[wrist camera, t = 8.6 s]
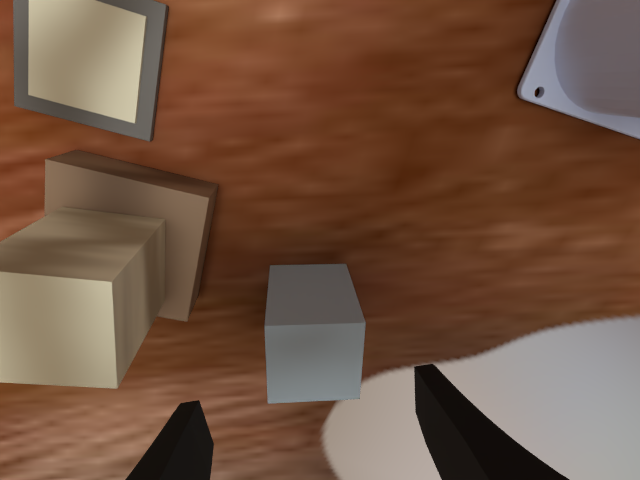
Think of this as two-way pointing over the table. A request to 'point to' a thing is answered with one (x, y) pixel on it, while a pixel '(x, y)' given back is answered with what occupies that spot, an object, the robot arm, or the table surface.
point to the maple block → (79, 296)
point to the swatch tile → (91, 61)
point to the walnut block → (142, 212)
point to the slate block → (313, 334)
